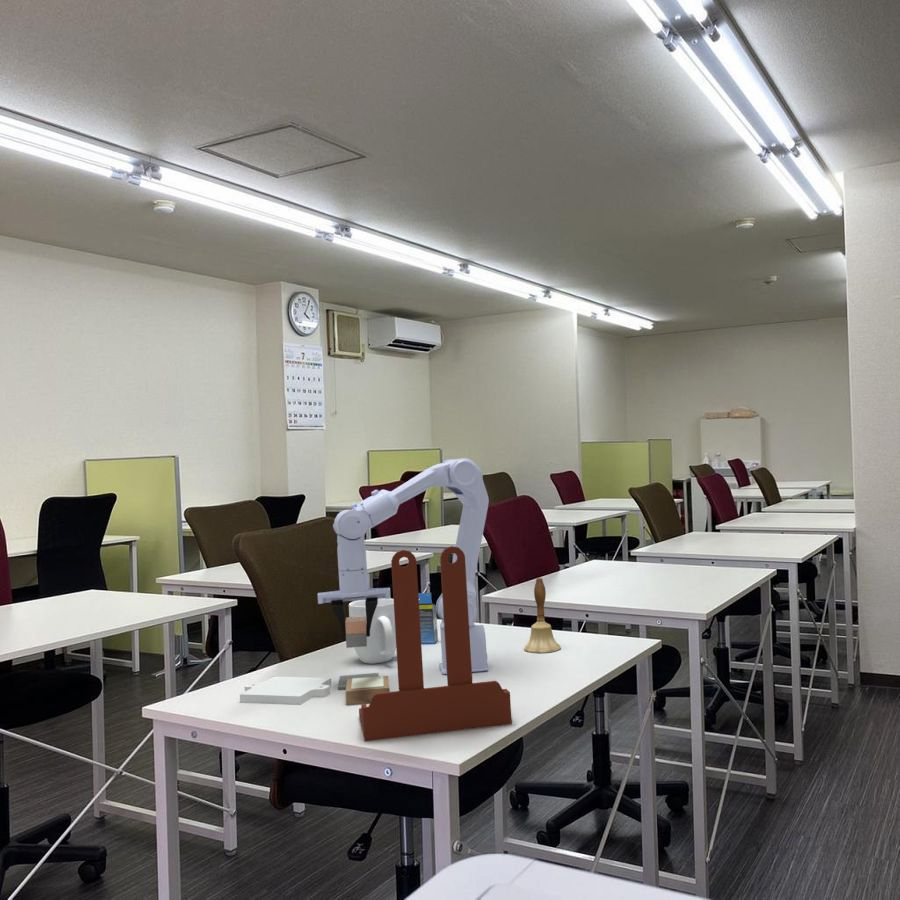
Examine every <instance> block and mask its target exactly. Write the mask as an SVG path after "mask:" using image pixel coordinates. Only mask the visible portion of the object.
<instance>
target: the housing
mask: <svg viewBox="0 0 900 900" xmlns="http://www.w3.org/2000/svg"><path fill="white" fill-rule="evenodd" d="M345 624H346V638H345V642H346V643H345V645H346V646H345V647H346V649H349V648H354V647H366V646H367V637H366V616H362V617H349V616H348V617H347V616H345Z"/></svg>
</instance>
